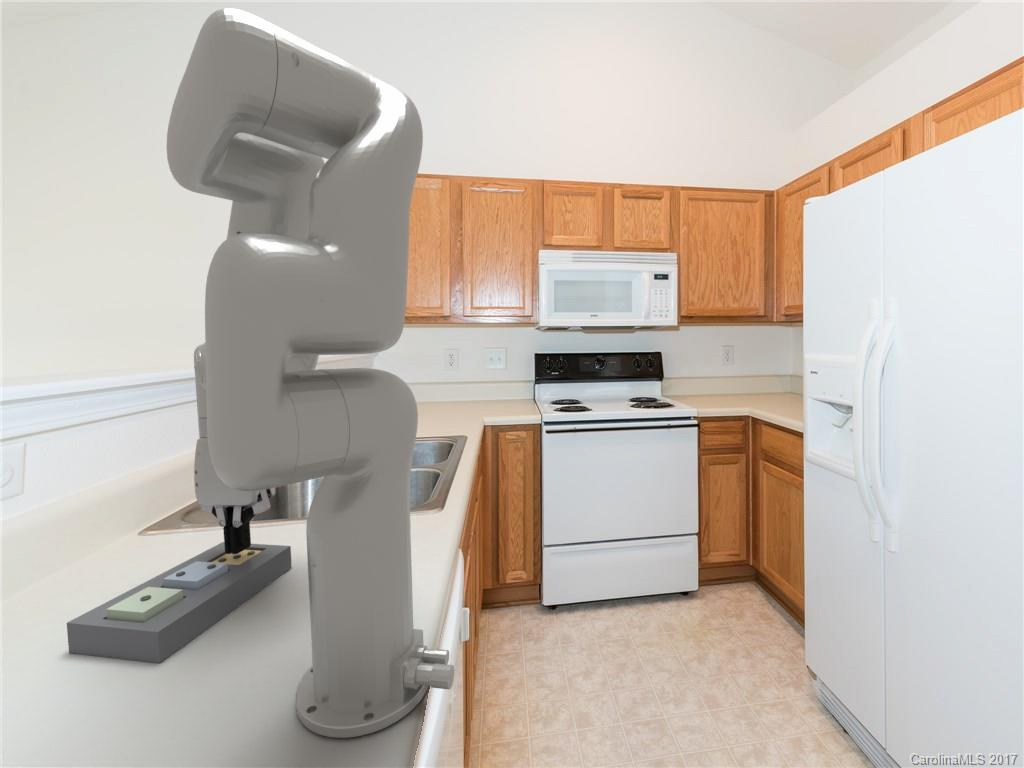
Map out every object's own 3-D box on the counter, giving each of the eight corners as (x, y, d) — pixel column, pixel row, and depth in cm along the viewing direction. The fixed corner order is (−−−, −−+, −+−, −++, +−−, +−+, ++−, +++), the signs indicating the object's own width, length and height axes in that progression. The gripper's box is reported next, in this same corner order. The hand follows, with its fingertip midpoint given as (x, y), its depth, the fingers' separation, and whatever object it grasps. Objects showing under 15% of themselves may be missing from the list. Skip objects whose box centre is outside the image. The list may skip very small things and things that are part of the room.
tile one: (183, 605, 55) (182, 588, 55) (144, 629, 51) (143, 611, 50) (149, 602, 56) (148, 585, 56) (107, 626, 51) (105, 607, 51)
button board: (291, 567, 70) (290, 545, 70) (160, 663, 49) (157, 632, 48) (224, 563, 72) (222, 541, 72) (69, 652, 51) (66, 622, 50)
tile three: (264, 563, 69) (263, 549, 69) (239, 579, 64) (238, 564, 64) (235, 561, 70) (235, 547, 70) (209, 577, 65) (208, 562, 65)
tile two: (228, 577, 62) (227, 562, 62) (197, 596, 57) (196, 580, 57) (197, 575, 63) (196, 559, 63) (164, 593, 58) (162, 577, 58)
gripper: (292, 423, 68) (300, 541, 69) (206, 424, 71) (215, 539, 72) (256, 430, 61) (265, 563, 62) (162, 432, 63) (172, 559, 64)
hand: (238, 550), depth 67 cm, fingers closed
